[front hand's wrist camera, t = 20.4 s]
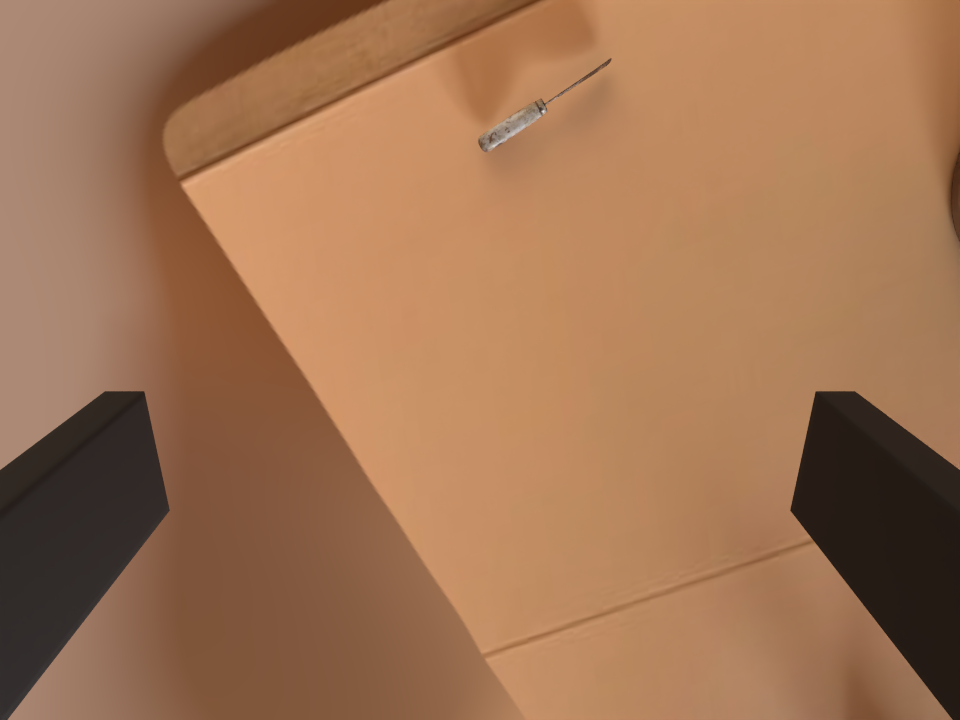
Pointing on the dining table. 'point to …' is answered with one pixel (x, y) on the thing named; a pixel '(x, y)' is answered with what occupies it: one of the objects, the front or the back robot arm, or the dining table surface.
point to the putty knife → (521, 119)
